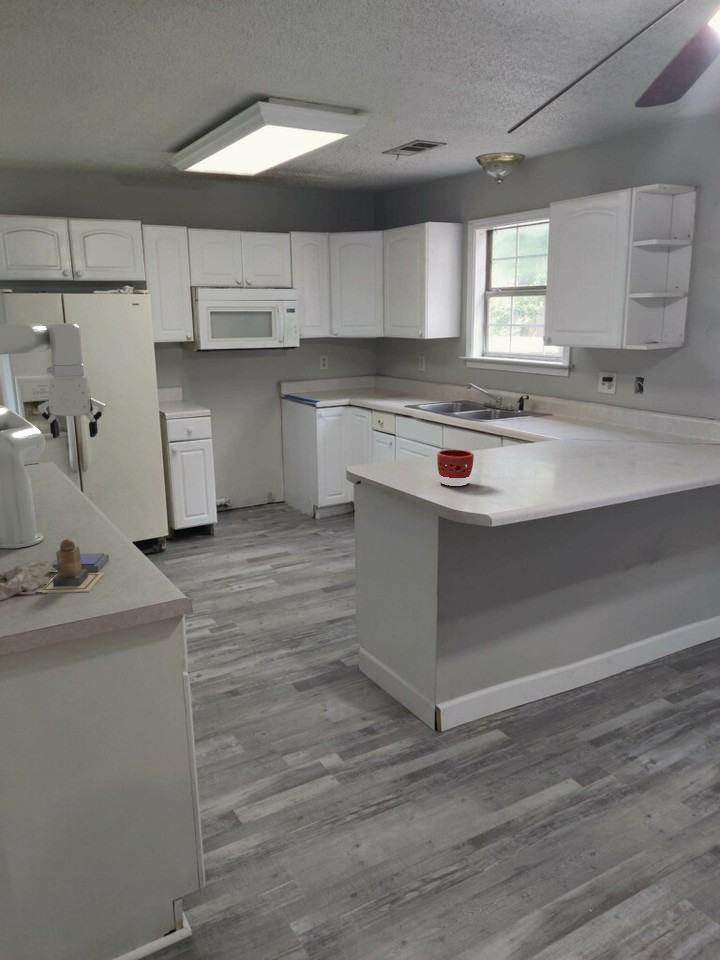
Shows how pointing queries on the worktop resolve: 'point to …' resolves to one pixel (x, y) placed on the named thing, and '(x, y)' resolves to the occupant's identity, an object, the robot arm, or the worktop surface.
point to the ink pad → (90, 561)
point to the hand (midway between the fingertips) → (74, 436)
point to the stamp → (69, 566)
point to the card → (84, 587)
